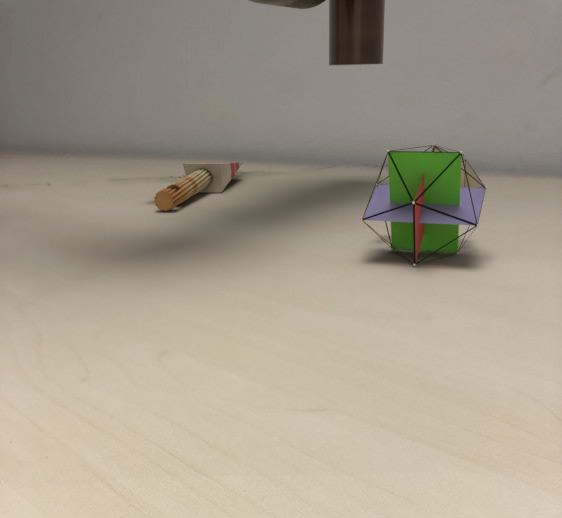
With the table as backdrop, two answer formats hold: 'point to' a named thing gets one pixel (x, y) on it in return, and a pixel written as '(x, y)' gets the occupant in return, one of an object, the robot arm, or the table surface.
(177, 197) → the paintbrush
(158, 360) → the table surface
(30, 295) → the table surface
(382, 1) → the pepper mill
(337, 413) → the table surface
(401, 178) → the geometric puzzle
